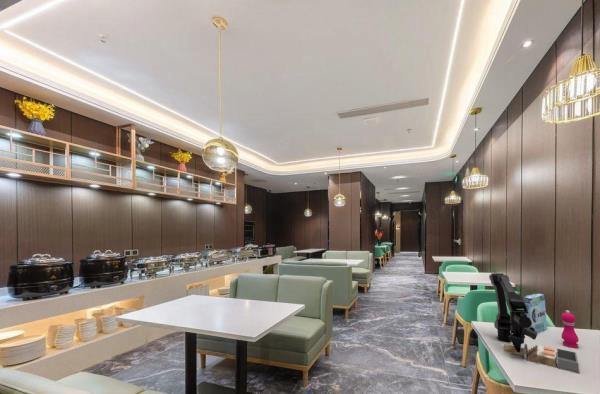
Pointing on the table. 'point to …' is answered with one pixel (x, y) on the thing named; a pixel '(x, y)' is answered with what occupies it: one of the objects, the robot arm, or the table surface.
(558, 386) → the table surface
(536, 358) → the bench
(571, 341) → the pepper mill
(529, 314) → the gum box
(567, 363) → the box
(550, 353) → the tile
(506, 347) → the scraper
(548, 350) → the tile
